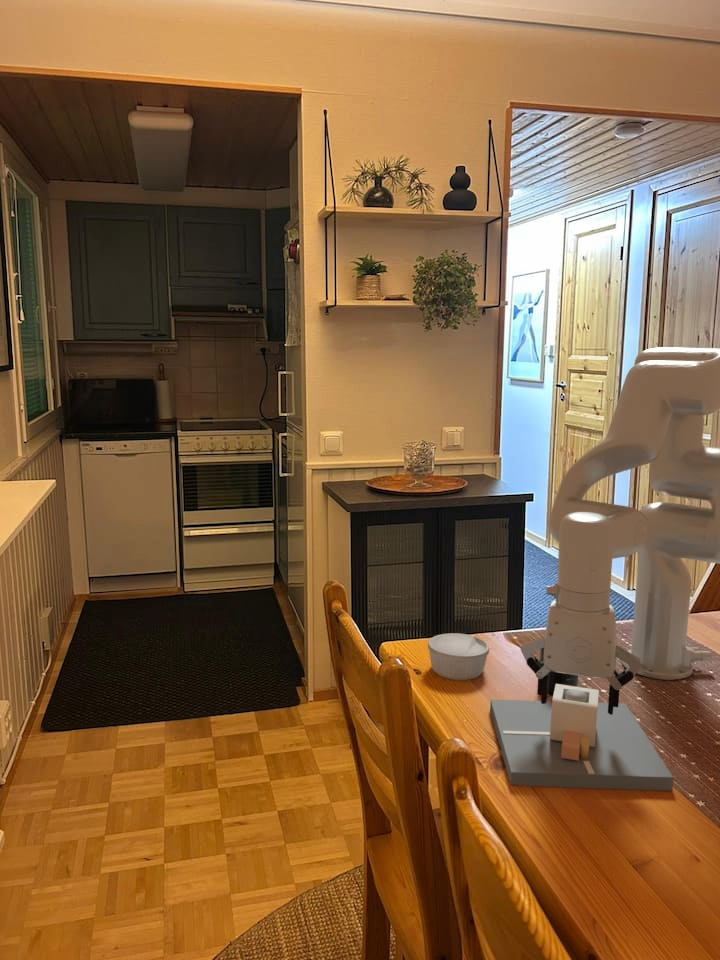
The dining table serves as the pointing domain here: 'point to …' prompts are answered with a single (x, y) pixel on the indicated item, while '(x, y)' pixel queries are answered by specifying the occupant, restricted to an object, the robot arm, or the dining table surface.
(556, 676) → the supplement bottle
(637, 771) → the board
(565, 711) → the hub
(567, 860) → the dining table surface
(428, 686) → the dining table surface
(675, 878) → the dining table surface
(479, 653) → the ramekin
